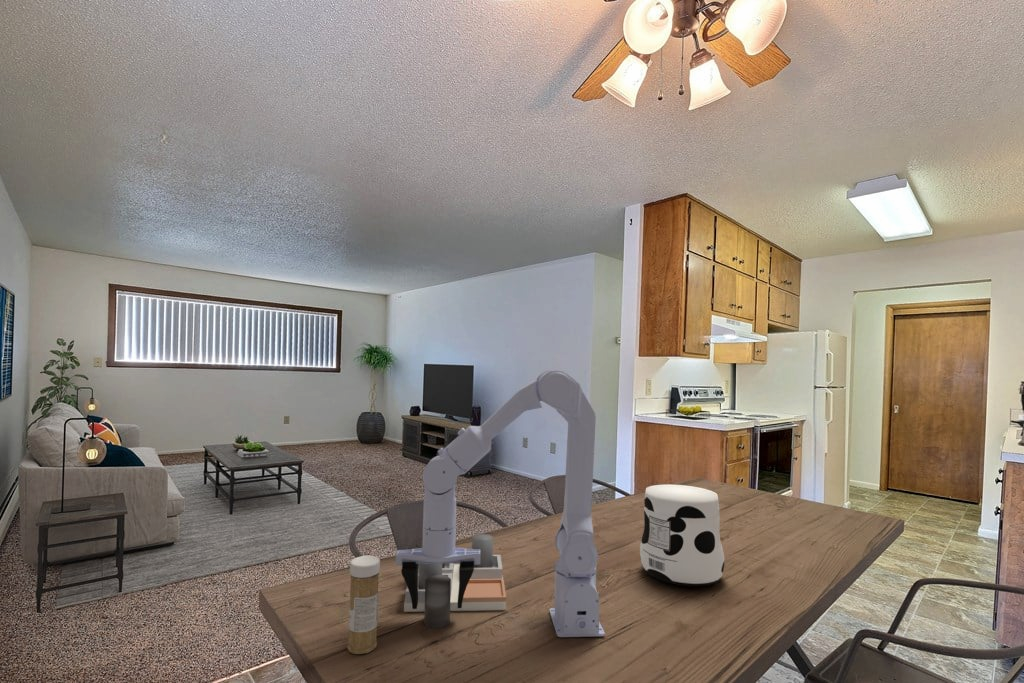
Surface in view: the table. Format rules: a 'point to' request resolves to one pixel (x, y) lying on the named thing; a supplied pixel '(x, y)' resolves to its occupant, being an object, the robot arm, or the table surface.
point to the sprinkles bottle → (363, 604)
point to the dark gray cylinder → (437, 601)
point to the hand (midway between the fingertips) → (437, 606)
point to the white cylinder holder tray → (481, 587)
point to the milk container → (682, 535)
